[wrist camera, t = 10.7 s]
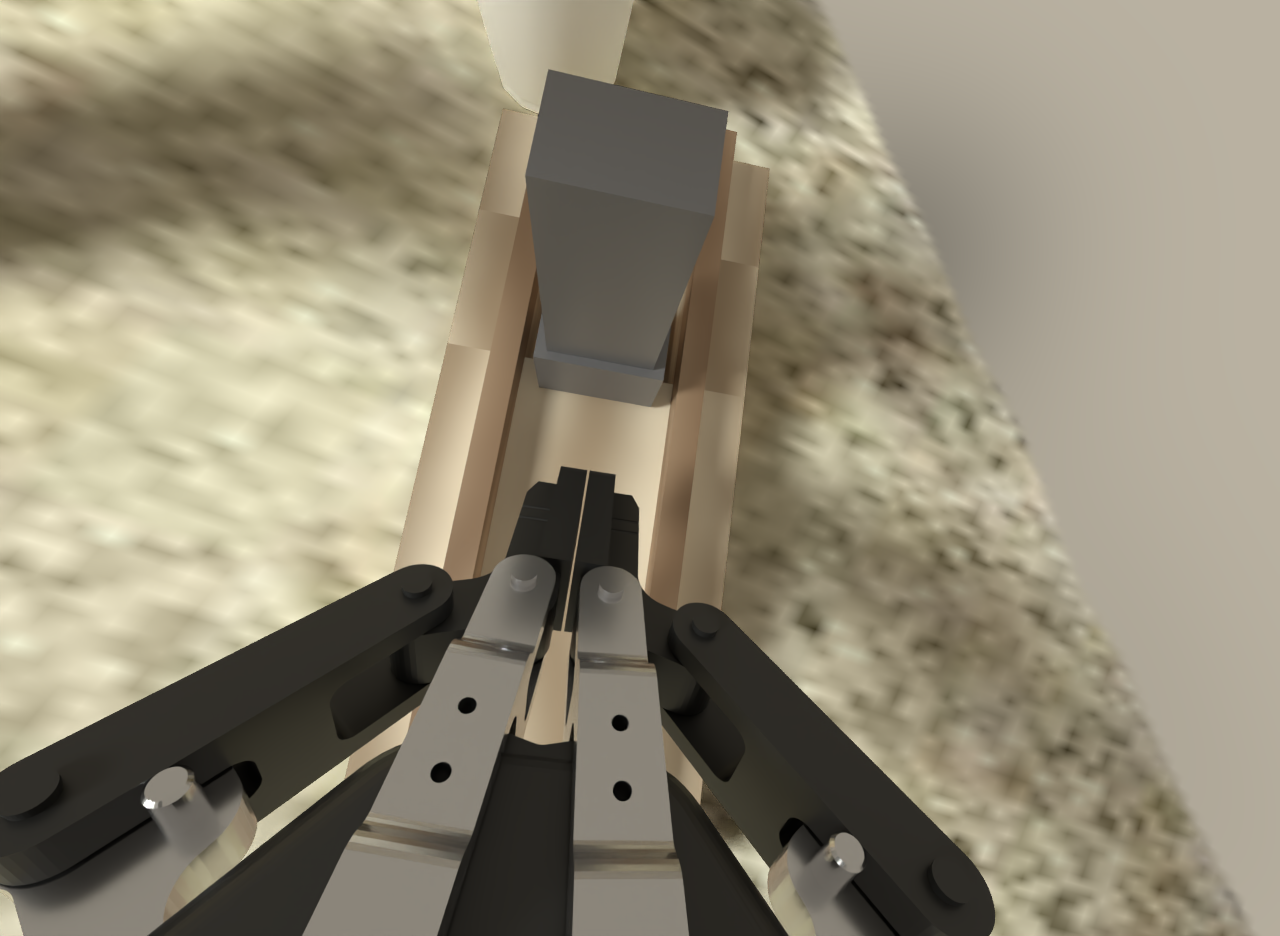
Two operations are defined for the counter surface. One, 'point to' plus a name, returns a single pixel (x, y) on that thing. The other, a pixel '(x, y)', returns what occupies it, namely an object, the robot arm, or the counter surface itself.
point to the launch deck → (585, 420)
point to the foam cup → (554, 41)
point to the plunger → (616, 229)
